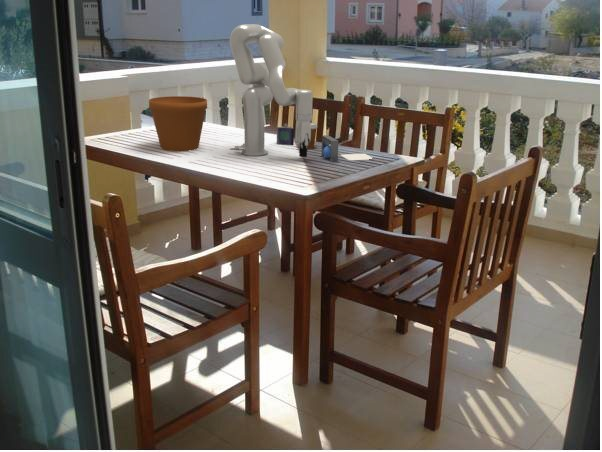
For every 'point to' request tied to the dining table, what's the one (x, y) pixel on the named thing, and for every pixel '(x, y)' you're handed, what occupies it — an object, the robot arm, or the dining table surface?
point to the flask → (285, 135)
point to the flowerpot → (178, 121)
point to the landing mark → (356, 157)
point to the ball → (327, 152)
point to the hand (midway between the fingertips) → (303, 156)
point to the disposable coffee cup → (312, 135)
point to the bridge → (334, 147)
